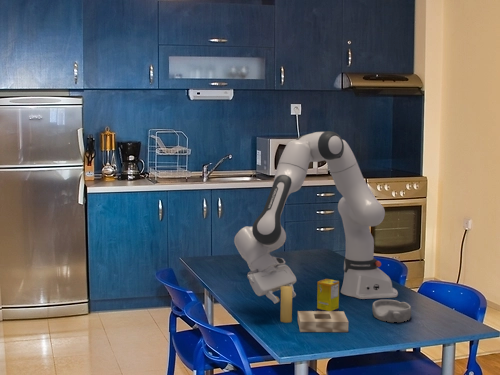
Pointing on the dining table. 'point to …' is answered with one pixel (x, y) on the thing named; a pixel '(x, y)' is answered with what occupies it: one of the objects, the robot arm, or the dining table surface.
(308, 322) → the hole block
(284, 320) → the pin
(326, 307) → the supplement box
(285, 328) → the dining table surface
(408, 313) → the dish
